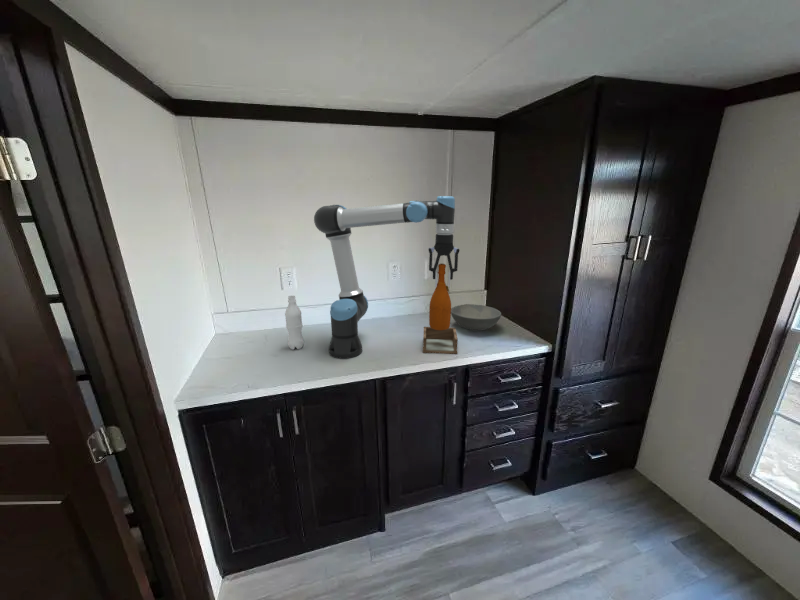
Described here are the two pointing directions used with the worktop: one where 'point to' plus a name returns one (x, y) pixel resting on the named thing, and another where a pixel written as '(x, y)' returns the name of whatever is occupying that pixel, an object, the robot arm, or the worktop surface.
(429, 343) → the walnut U-rest
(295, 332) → the water bottle
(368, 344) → the worktop surface
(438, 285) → the wine bottle
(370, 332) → the worktop surface
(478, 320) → the bowl
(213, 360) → the worktop surface
